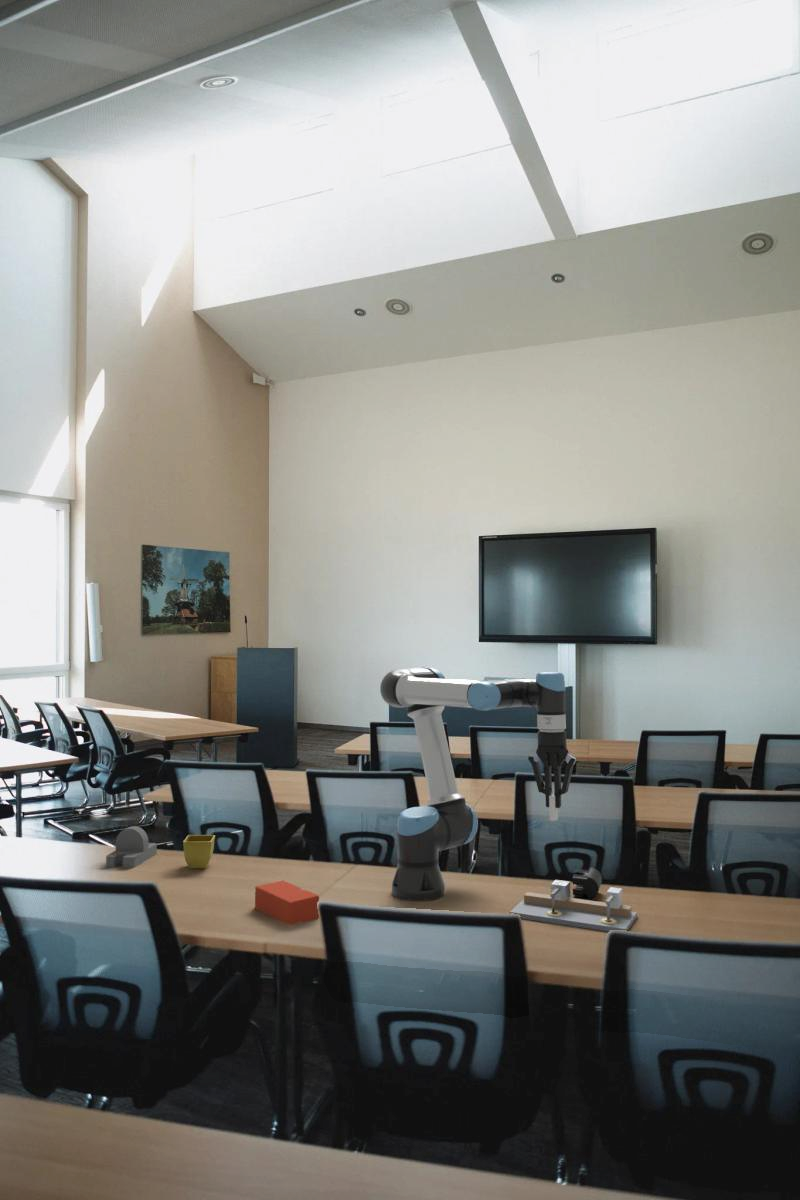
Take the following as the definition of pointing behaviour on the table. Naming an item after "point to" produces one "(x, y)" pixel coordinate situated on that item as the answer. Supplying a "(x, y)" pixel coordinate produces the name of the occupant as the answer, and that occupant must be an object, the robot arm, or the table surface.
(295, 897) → the brick
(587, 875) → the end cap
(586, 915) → the board
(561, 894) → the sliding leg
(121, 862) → the bracket
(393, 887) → the robot arm
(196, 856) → the flower pot
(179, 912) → the table surface
